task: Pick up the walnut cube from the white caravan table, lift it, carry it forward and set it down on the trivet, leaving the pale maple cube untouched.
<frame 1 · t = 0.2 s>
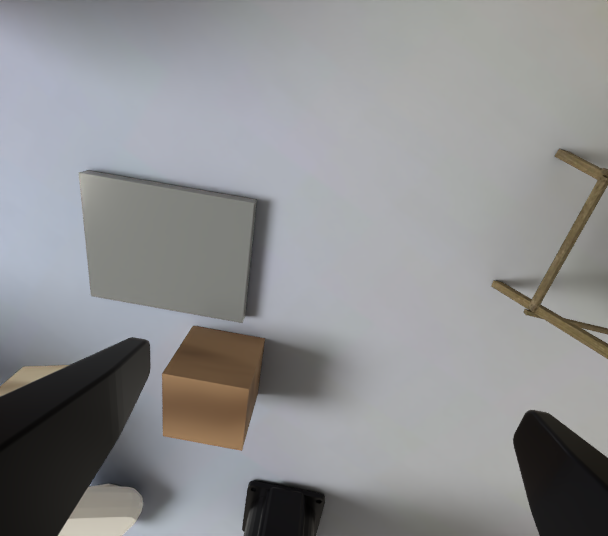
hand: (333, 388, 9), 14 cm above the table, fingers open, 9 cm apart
maple cube: (57, 385, 29), on the table
trivet: (171, 248, 23), on the table
walnut cube: (227, 360, 27), on the table
miniature windmill: (591, 238, 21), on the table
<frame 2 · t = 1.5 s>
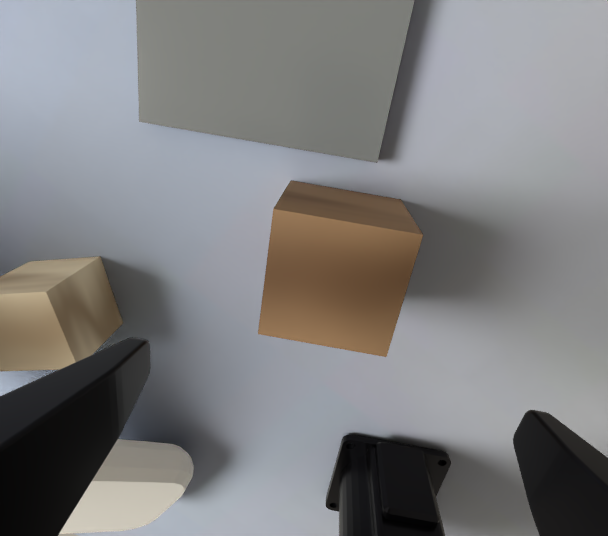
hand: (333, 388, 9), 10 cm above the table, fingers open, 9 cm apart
maple cube: (78, 292, 20), on the table
trivet: (272, 33, 15), on the table
walnut cube: (335, 241, 18), on the table
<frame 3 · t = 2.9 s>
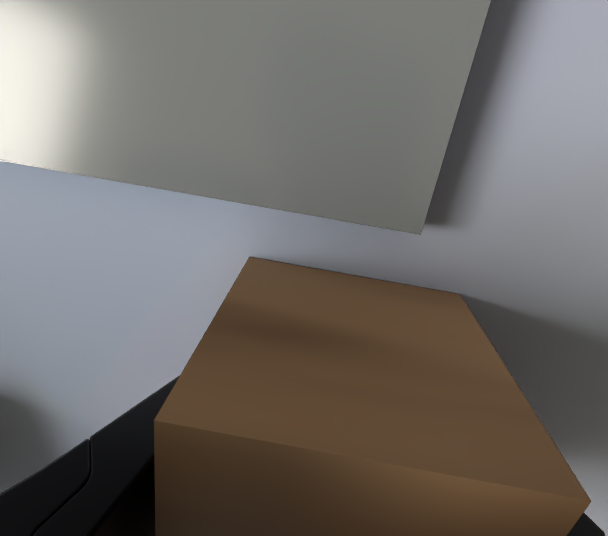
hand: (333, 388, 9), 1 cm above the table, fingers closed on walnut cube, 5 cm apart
walnut cube: (334, 360, 10), on the table, touching gripper
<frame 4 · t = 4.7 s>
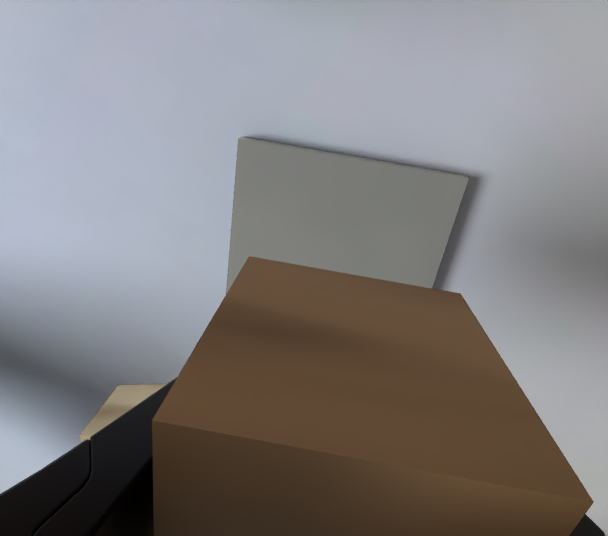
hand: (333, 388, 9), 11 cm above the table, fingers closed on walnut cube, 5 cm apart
maple cube: (157, 408, 24), on the table
trivet: (335, 239, 18), on the table
walnut cube: (334, 360, 10), point 10 cm above the table, touching gripper
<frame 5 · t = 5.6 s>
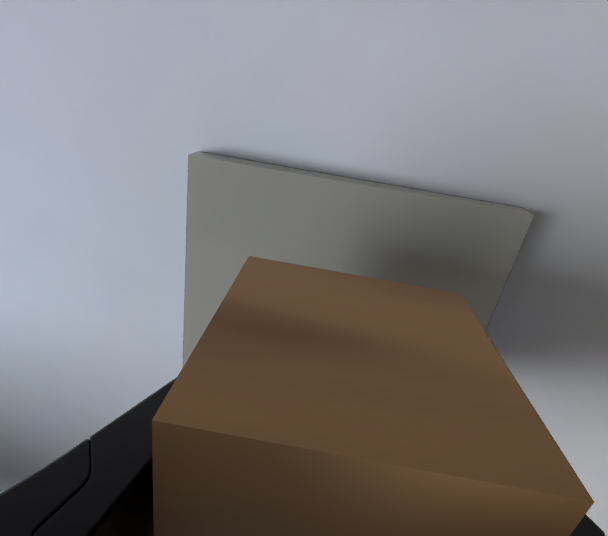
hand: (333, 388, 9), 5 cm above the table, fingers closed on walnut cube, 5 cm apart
trivet: (334, 293, 13), on the table
walnut cube: (334, 360, 10), point 4 cm above the table, touching gripper
when the fingers open (3 cm above the table, at t = 6.4 s): walnut cube stays where it is, resting on trivet.
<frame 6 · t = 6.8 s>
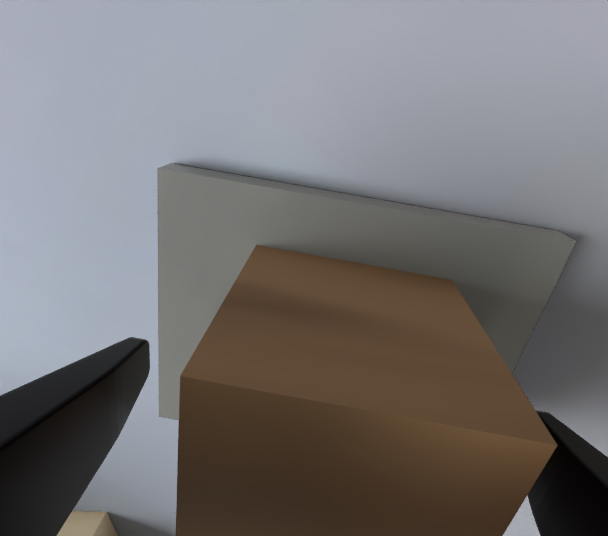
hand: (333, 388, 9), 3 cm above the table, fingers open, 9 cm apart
trivet: (333, 327, 11), on the table
walnut cube: (334, 343, 10), point 1 cm above the table, touching trivet
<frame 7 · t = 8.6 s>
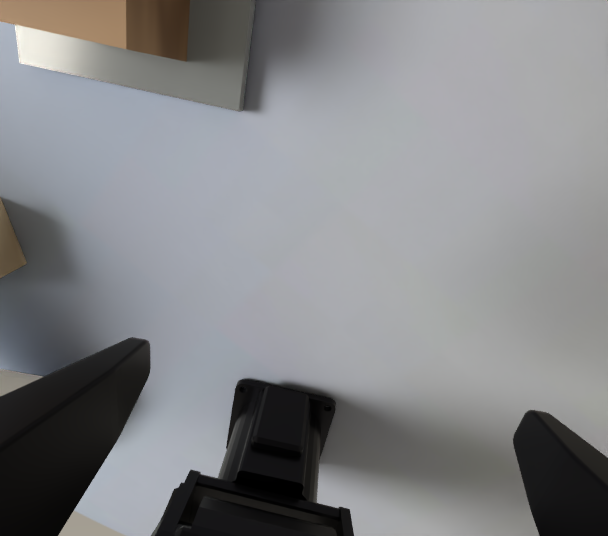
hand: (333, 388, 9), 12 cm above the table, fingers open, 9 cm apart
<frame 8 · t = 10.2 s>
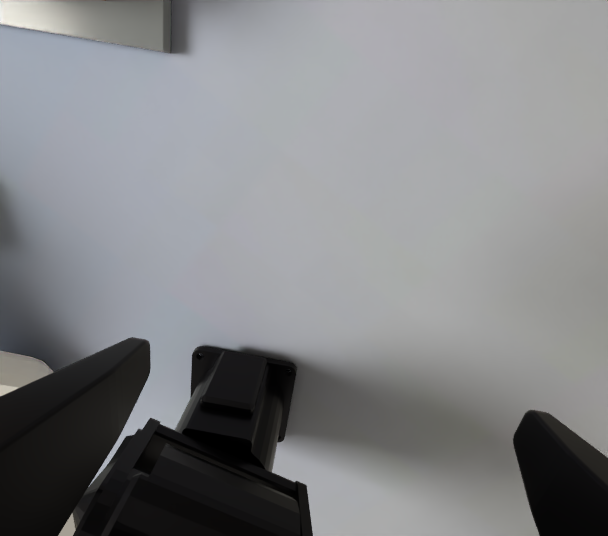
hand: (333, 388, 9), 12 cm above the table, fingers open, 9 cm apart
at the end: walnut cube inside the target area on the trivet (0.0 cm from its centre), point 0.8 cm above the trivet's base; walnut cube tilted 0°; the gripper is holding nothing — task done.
